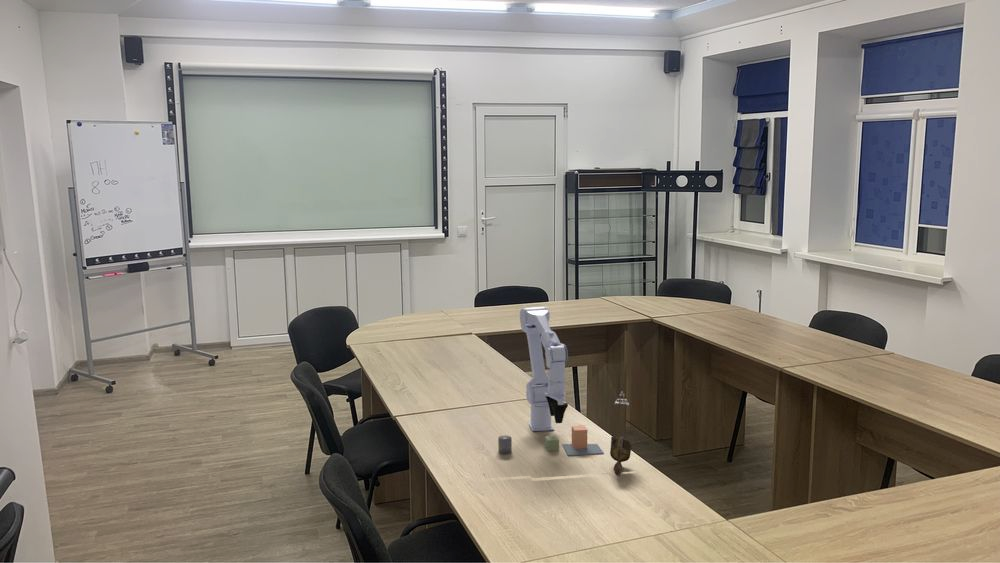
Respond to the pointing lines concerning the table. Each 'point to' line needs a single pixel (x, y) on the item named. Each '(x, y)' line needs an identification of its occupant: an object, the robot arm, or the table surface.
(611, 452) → the brown piece
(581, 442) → the terracotta block
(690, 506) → the table surface
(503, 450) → the dark grey cylinder
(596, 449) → the slate mat
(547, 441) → the olive cube
